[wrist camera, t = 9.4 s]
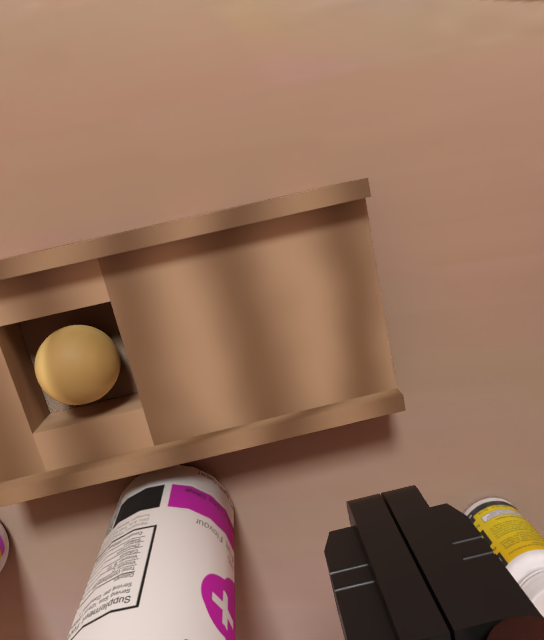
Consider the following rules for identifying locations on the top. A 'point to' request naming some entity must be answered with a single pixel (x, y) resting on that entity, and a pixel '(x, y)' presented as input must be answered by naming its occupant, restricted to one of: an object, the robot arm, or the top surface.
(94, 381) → the ball
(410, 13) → the top surface
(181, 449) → the wooden slide tray
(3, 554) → the supplement bottle
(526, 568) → the supplement bottle
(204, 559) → the supplement can
